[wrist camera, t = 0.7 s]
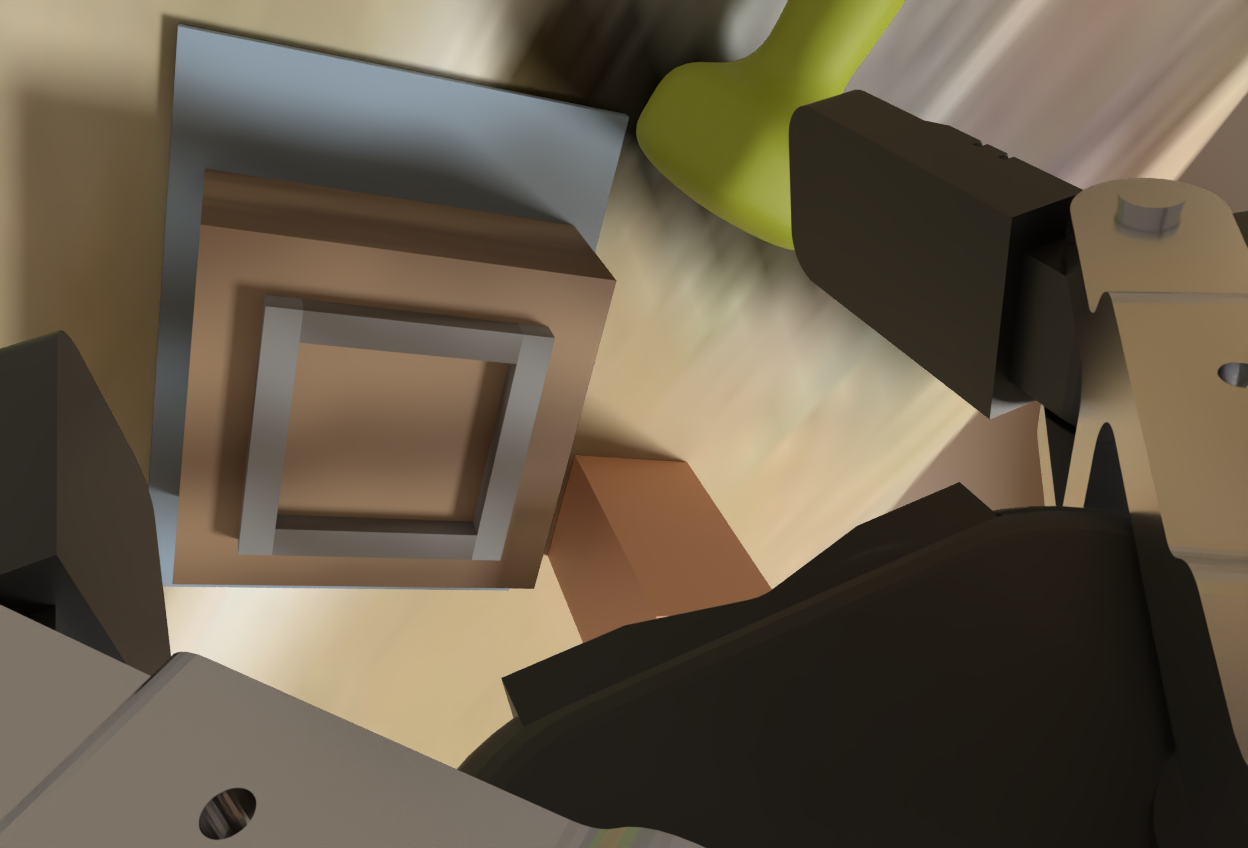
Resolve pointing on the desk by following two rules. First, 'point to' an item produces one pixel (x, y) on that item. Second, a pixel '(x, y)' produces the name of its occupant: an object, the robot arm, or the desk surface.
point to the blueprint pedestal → (370, 320)
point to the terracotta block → (644, 545)
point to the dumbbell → (756, 111)
